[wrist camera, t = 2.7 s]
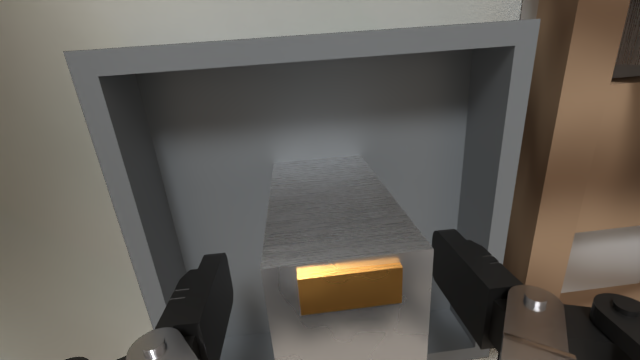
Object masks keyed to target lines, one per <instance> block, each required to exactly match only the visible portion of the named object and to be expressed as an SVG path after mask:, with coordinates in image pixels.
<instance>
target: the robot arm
mask: <svg viewBox="0 0 640 360" xmlns="http://www.w3.org/2000/svg"><path fill="white" fill-rule="evenodd" d="M432 247H433V249H434V255H433V271H432V276H433V278H434V280H435V282H436V284H437V285H438V287H439V288H440V290H441V291H442V292H443V294H444V295H445V297H446V298H447V300H448V301H449V303H450V304H451V306H452V307H453V309H454V310H455V312H456V313H457V315H458V316H459V318H460V319H461V321H462V322H463V324H464V325H465V327H466V328H467V330H468V331H469V333H470V334H471V335H472V337H473V338H474V340H475V341H476V343H477V344H478V346H479V347H480V349H481V350H482V349H490V348H496V350H497V351H498V352H499V353H498V359H497V360H640V302H639V301H637V300H635V299H632V298H630V297H627V296H623V295H619V294H614V293H602V294H598V295H596V296H595V297H594V299H593V303H592V307H585V306H576V305H567V304H563V303H562V302H561V300H560V299H559V298H558V297H556V296H555V295H554V294H552V293H550V292H549V291H547V290H545V289H542V288H539V287H536V286H531V285H524V284H523V283H521V282H520V281H519V280H518V279H517V278H516V277H515V276H514V275H513V274H512V273H511V272H510V271H509V270H508V269H507V268H505V267H504V266H503V265H502V264H501V263H499V261H498V260H497V259H496V258H495V257H494V256H492V254H491V253H489V252H488V251H487V250H486V249H485V248H484V247H483V246H481V245H479V244H477V243H475V242H473V241H472V240H466V239H465V238H464V237H463V236H462V235H461V234H460V233H459V232H458V231H457V230H456V229H446V230H437V231H434V232H433V236H432ZM232 305H233V285H232V280H231V275H230V269H229V264H228V259H227V255H226V253H216V254H206V255H204V256H203V258H202V260H201V263H200V265H199V267H198V269H192V270H189V271H188V272H187V273H186V274H185V275H184V276H183V277H182V278H181V279H180V280H179V282H178V284H177V286H176V288H175V291H174V292H173V294H172V296H171V298H170V300H169V302H168V304H167V306H166V308H165V309H164V311H163V313H162V315H161V317H160V319H159V321H158V323H157V325H156V327H155V329H154V330H152V331H150V332H148V333H146V334H145V335H143V336H141V337H140V338H139V339H138V340H136V341H135V342H134V343H133V344H132V346H131V347H130V348H129V350H128V352H127V355H126V356H125V357H122V358H120V359H117V360H220V357H221V352H222V348H223V344H224V339H225V335H226V331H227V327H228V322H229V318H230V314H231V309H232ZM66 360H88V359H87V358H84V357H73V358H69V359H66Z"/></svg>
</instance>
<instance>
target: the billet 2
mask: <svg viewBox="0 0 640 360" xmlns="http://www.w3.org/2000/svg"><path fill="white" fill-rule="evenodd" d="M615 64H627V65H640V0H630V4H629V8H628V13H627V17H626V21H625V25H624V29H623V34H622V38H621V42H620V46H619V50H618V55H617V59H616V63H615Z"/></svg>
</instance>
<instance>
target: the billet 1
mask: <svg viewBox="0 0 640 360" xmlns="http://www.w3.org/2000/svg"><path fill="white" fill-rule="evenodd" d="M433 255H434V249H433V247H432V246H431V245H430V244H429V242H428V241H427V240H426V238H425V237H424V236H423V235H422V233H421V232H420V231H419V229H418V228H417V227H416V226H415V224H414V223H413V222H412V220H411V219H410V218H409V217H408V215H407V214H406V213H405V211H404V210H403V209H402V208H401V206H400V205H399V204H398V203H397V201H396V200H395V199H394V197H393V196H392V195H391V194H390V192H389V191H388V190H387V188H386V187H385V186H384V185H383V183H382V182H381V181H380V179H379V178H378V177H377V176H376V174H375V173H374V172H373V170H372V169H371V168H370V167H369V165H368V164H367V163H366V162H365V160H364V159H363V158H362V156H361V155H355V156H344V157H334V158H323V159H313V160H302V161H291V162H281V163H274V165H273V173H272V181H271V188H270V196H269V204H268V212H267V220H266V228H265V236H264V244H263V252H262V260H261V267H260V271H261V277H262V283H263V289H264V296H265V302H266V308H267V314H268V321H269V327H270V333H271V339H272V346H273V352H274V358H275V360H427V349H428V334H429V318H430V302H431V287H432V271H433Z"/></svg>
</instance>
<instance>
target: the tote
mask: <svg viewBox="0 0 640 360" xmlns="http://www.w3.org/2000/svg"><path fill="white" fill-rule="evenodd" d="M540 21H541V19H528V20H514V21H499V22H485V23H470V24H456V25H441V26H427V27H412V28H398V29H383V30H369V31H354V32H339V33H325V34H310V35H296V36H281V37H267V38H252V39H238V40H223V41H209V42H194V43H180V44H165V45H151V46H136V47H122V48H107V49H93V50H78V51H63V52H64V56H65V59H66V62H67V65H68V68H69V71H70V74H71V77H72V80H73V83H74V86H75V89H76V93H77V96H78V99H79V102H80V105H81V108H82V111H83V114H84V117H85V120H86V123H87V126H88V130H89V133H90V136H91V139H92V142H93V145H94V148H95V151H96V154H97V157H98V160H99V163H100V166H101V170H102V173H103V176H104V179H105V182H106V185H107V188H108V191H109V194H110V197H111V200H112V203H113V207H114V210H115V213H116V216H117V219H118V222H119V225H120V228H121V231H122V234H123V237H124V240H125V244H126V247H127V250H128V253H129V256H130V259H131V262H132V265H133V268H134V271H135V274H136V277H137V281H138V284H139V287H140V290H141V293H142V296H143V299H144V302H145V305H146V308H147V311H148V314H149V318H150V321H151V324H152V327H153V330H154V329H155V327H156V325H157V323H158V321H159V319H160V317H161V315H162V313H163V311H164V309H165V308H166V306H167V304H168V302H169V300H170V298H171V296H172V294H173V292H174V291H175V288H176V286H177V284H178V282H179V280H180V279H181V278H182V277H183V276H184V275H185V274H186V273H187V272H188V271H189V270H192V269H198V267H199V265H200V263H201V260H202V258H203V256H204V255H206V254H216V253H226V255H227V259H228V264H229V269H230V275H231V280H232V285H233V305H232V309H231V314H230V318H229V322H228V327H227V331H226V335H225V339H224V344H223V348H222V352H221V357H220V360H275V358H274V352H273V346H272V339H271V333H270V327H269V321H268V314H267V308H266V302H265V296H264V289H263V283H262V277H261V271H260V267H261V260H262V252H263V244H264V236H265V228H266V220H267V212H268V204H269V196H270V188H271V181H272V173H273V165H274V163H281V162H291V161H302V160H313V159H323V158H334V157H344V156H355V155H361V156H362V158H363V159H364V160H365V162H366V163H367V164H368V165H369V167H370V168H371V169H372V170H373V172H374V173H375V174H376V176H377V177H378V178H379V179H380V181H381V182H382V183H383V185H384V186H385V187H386V188H387V190H388V191H389V192H390V194H391V195H392V196H393V197H394V199H395V200H396V201H397V203H398V204H399V205H400V206H401V208H402V209H403V210H404V211H405V213H406V214H407V215H408V217H409V218H410V219H411V220H412V222H413V223H414V224H415V226H416V227H417V228H418V229H419V231H420V232H421V233H422V235H423V236H424V237H425V238H426V240H427V241H428V242H429V244H430V245H431V246H432V236H433V232H434V231H437V230H446V229H456V230H457V231H458V232H459V233H460V234H461V235H462V236H463V237H464V238H465V239H466V240H472V241H473V242H475V243H477V244H479V245H481V246H483V247H484V248H485V249H486V250H487V251H488V252H489V253H491V254H492V256H494V257H495V258H496V259H497V260H498V261H499V263H501V264H502V265H503V260H504V254H505V247H506V241H507V234H508V228H509V221H510V215H511V208H512V202H513V196H514V189H515V183H516V176H517V170H518V163H519V157H520V150H521V144H522V137H523V131H524V124H525V118H526V111H527V105H528V98H529V92H530V85H531V79H532V72H533V66H534V60H535V53H536V47H537V40H538V34H539V27H540ZM489 351H490V349H482V350H481V349H480V347H479V346H478V344H477V343H476V341H475V340H474V338H473V337H472V335H471V334H470V333H469V331H468V330H467V328H466V327H465V325H464V324H463V322H462V321H461V319H460V318H459V316H458V315H457V313H456V312H455V310H454V309H453V307H452V306H451V304H450V303H449V301H448V300H447V298H446V297H445V295H444V294H443V292H442V291H441V290H440V288H439V287H438V285H437V284H436V282H435V280H434V278H433V276H432V287H431V302H430V318H429V334H428V349H427V360H472V359H479V358H486V357H489Z"/></svg>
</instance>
